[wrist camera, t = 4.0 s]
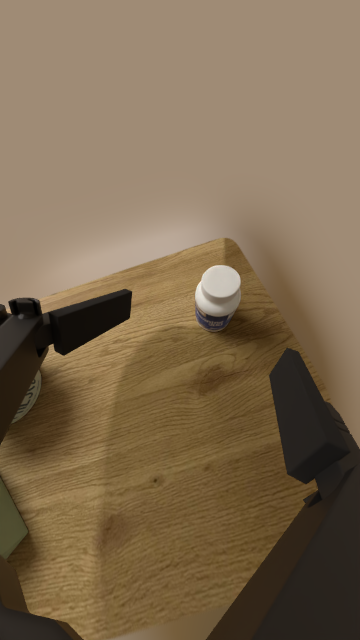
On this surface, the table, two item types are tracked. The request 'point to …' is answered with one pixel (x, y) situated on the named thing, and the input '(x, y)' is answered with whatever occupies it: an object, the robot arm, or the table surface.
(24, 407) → the food container
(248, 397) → the table surface
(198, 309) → the pill bottle
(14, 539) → the scale
